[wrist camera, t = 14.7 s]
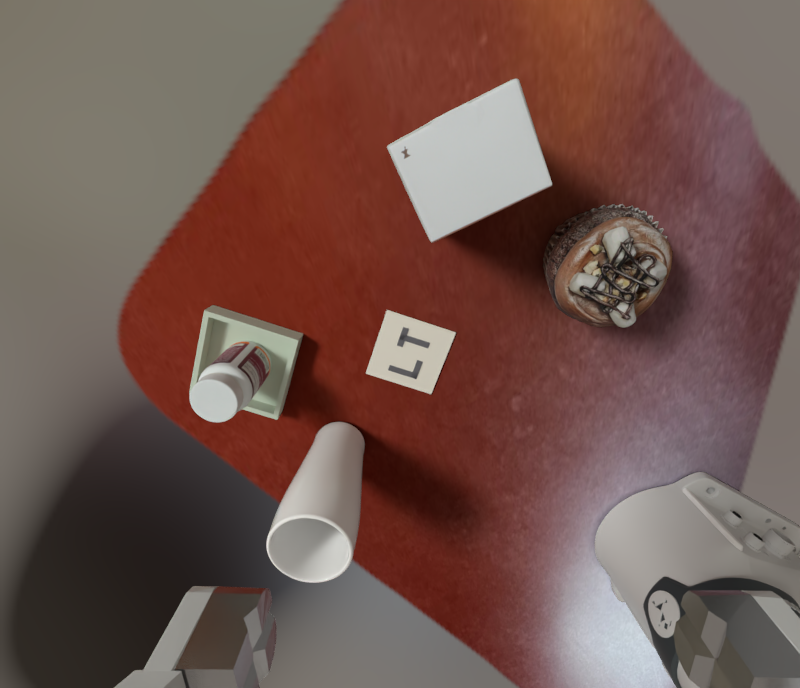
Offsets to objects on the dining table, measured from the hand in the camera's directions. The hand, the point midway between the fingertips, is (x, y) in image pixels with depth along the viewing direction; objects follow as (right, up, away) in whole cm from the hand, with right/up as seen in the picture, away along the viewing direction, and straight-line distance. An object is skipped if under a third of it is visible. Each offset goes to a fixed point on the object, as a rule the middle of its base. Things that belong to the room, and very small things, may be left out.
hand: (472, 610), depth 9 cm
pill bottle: (-16, +4, +35) cm, 39 cm away
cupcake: (+15, +13, +31) cm, 37 cm away
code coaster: (0, +4, +35) cm, 35 cm away
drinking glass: (-8, -5, +39) cm, 40 cm away
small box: (+3, +20, +29) cm, 36 cm away
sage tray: (-17, +4, +36) cm, 39 cm away
